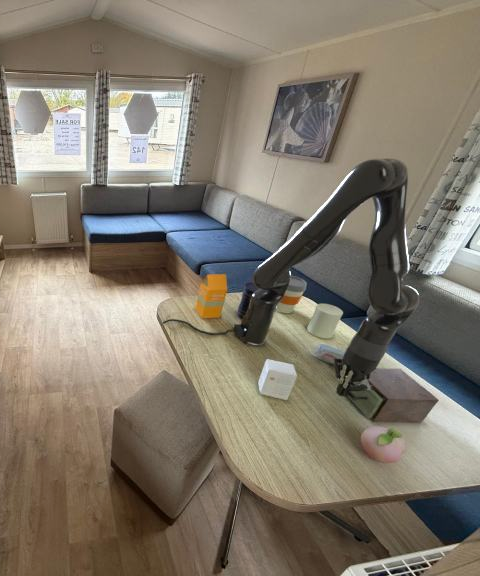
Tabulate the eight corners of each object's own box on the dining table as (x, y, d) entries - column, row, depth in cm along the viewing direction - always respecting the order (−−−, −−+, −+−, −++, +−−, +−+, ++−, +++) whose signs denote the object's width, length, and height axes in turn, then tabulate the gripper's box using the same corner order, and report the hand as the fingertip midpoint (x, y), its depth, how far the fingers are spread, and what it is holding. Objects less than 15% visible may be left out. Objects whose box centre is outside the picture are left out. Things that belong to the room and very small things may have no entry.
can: (336, 333, 131) (347, 310, 125) (326, 341, 126) (338, 316, 120) (312, 323, 137) (322, 300, 132) (302, 329, 133) (312, 306, 127)
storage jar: (234, 309, 146) (241, 281, 139) (255, 311, 145) (264, 283, 138) (239, 321, 137) (248, 292, 130) (262, 323, 136) (272, 294, 129)
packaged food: (349, 375, 109) (355, 364, 106) (310, 360, 115) (315, 349, 113) (351, 363, 115) (356, 352, 112) (314, 349, 121) (318, 339, 119)
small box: (283, 388, 102) (294, 364, 97) (287, 401, 98) (298, 376, 93) (257, 382, 104) (266, 358, 100) (259, 394, 100) (268, 369, 95)
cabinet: (373, 422, 91) (388, 399, 87) (343, 389, 103) (355, 367, 98) (421, 422, 92) (439, 400, 87) (386, 390, 103) (400, 368, 98)
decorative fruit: (362, 435, 87) (378, 411, 82) (398, 459, 81) (418, 434, 76) (347, 452, 83) (364, 427, 78) (385, 478, 77) (405, 453, 72)
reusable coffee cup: (295, 305, 151) (305, 277, 144) (298, 317, 141) (309, 289, 134) (266, 299, 156) (275, 272, 148) (267, 311, 145) (277, 283, 138)
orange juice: (195, 309, 145) (203, 270, 136) (212, 308, 146) (222, 270, 137) (201, 318, 138) (210, 278, 129) (220, 317, 139) (230, 278, 130)
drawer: (352, 417, 91) (364, 399, 88) (327, 388, 102) (336, 371, 98) (412, 418, 92) (426, 400, 88) (380, 389, 102) (392, 372, 98)
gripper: (336, 335, 92) (315, 378, 100) (370, 366, 81) (343, 412, 89) (361, 336, 92) (337, 379, 101) (399, 367, 81) (369, 412, 89)
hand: (340, 394), depth 95 cm, fingers closed
